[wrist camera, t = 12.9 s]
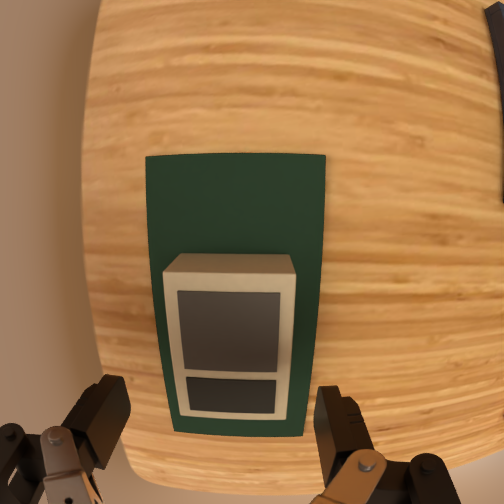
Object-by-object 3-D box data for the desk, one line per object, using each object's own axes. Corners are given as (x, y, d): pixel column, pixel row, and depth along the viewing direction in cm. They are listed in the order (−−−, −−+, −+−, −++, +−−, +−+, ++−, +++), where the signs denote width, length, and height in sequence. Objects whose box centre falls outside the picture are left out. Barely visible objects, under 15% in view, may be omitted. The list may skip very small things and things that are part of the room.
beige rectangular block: (180, 252, 18) (161, 272, 14) (289, 254, 18) (296, 274, 14) (191, 381, 20) (179, 417, 17) (282, 384, 20) (286, 422, 16)
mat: (147, 156, 17) (145, 156, 17) (324, 155, 17) (325, 155, 16) (175, 428, 22) (174, 431, 22) (302, 432, 22) (302, 436, 21)
